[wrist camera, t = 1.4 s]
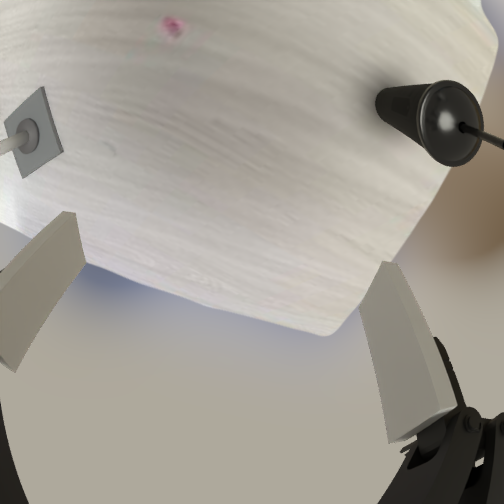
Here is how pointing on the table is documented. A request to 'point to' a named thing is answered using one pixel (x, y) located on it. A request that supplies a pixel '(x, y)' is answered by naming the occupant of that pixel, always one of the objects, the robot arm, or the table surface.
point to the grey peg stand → (31, 134)
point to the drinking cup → (437, 119)
